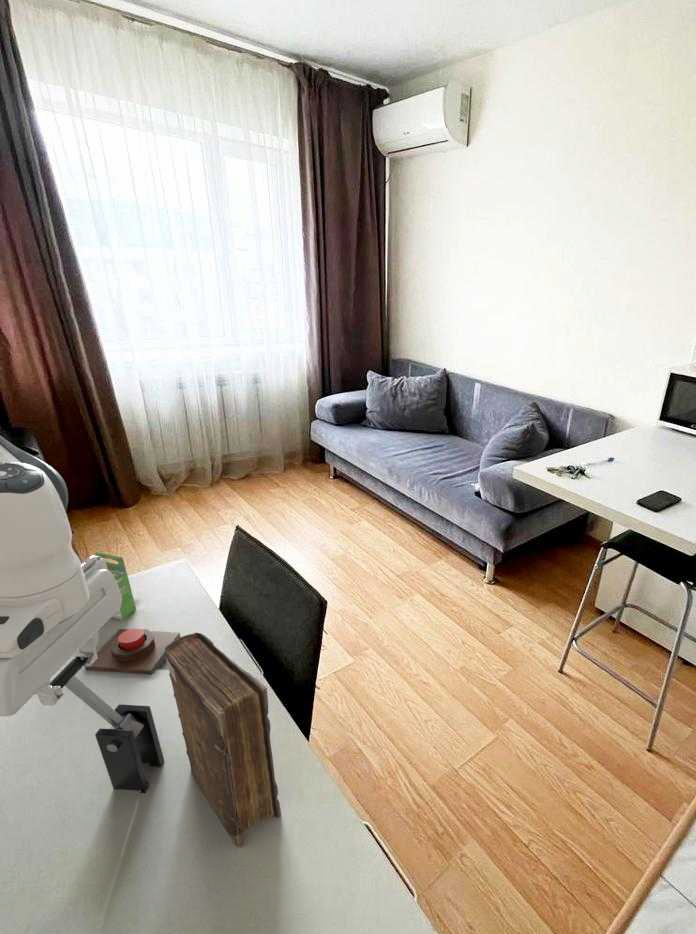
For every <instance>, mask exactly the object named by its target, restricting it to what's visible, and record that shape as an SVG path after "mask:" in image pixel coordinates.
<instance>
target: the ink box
mask: <svg viewBox="0 0 696 934" xmlns="http://www.w3.org/2000/svg"><path fill="white" fill-rule="evenodd" d="M94 554H95V555H94V556H100V557H102V558H104V559H110V560H113V561H115V562H117V563H114V562H110V561H106V565H107V569H108V570H109V571H110V572H111V573H112V575H113V576H114V578H115V580H116V583H117V585H118V587H119V590H120V593H121V596H122V603H121V607H120V609H119V610H118V611H117V612H116V613H115V614H114V615H113V616H112V617H111V618H112V619H115V620H119V621H124V620H126V619H127V618H128V617H129V616H130V615H131V614H133V613H134V612H135V611H136V610H137V606H136V603H135V599H134V595H133V591H132V587H131V584H130V583H131V582H130V579H129V575H128V572H127V569H126V564H125V561H124V557H123V556H118V555H113V554H108V553H103V552H98V551H97V552H96V551H94ZM111 618H110V619H111Z"/></svg>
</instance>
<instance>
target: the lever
mask: <svg viewBox="0 0 696 934" xmlns="http://www.w3.org/2000/svg"><path fill="white" fill-rule="evenodd" d="M83 667H85V666H84V662H83V661H82V660H81V659H78V658H76V657H75V658H73V659H72V660H71V661H70V662H69V663H68V664H67V665H65V667H64V668H63V669H62V670H61V671H60V672H59V673H58V674H57V675H56V676H55V677H54V678H53V679H52V680H50V682H51V683H50V686H52V687H53V686H61V689H62V690H63V688H64V687H66V688H67V689H68V690H69V691H70V692H72V693H73V694H74V695H75V696H77V698H79V699H80V700H81V701H82V702H83V703H84V704H86V706H88V707H89V708H90V709H92V710H93V711H94V712H95V713H96V714H98V715H99V716H100V717H101V718H102V719H103V720H105V721H106V722H107V723H108V724H109V725H111V727H110V728H109V729H117V730H132V731H133V734H134V737H135V738H136V737H137V735H138V734H139V732H140V731H141V730H142V728H143V727H144V725H143V724H142V723H140V722H139V721H138V720H137V719H136V718H135V717H134V716H132V715H131V714H130V713H129V714H127V715H125V716H123V717H122V716H120V715H119V714H118V713H117V712H116V711H115V709H113V708H112V707H111V706H110V705H109V704H108V703H107V702H105V701H104V700H103V699H102V698H101V697H100V696H99V695H98V694H96V693H95V692H94V691H93V690H92V689H91V688H89V687H88V686H87V685H86V684H85V683H84V682H82V681H81V680H80V679H79V678H77V676H76V675H77V673H79V671H80V670H81V669H82V668H83Z"/></svg>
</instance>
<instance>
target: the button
mask: <svg viewBox="0 0 696 934" xmlns="http://www.w3.org/2000/svg"><path fill="white" fill-rule="evenodd" d="M129 629H130V630H127V631H125V632H123V633H122V634H121V635H120V636H119V638H118V640H119V644H120V647H121V649H123V650H131V649H134V648H137V647H139V646H141V645H142V644H143V643H144V642H145V637H144V633H143V630H141V629H142V628H137V627H136V628H129Z"/></svg>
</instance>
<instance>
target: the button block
mask: <svg viewBox="0 0 696 934" xmlns="http://www.w3.org/2000/svg"><path fill="white" fill-rule="evenodd" d="M130 629H131V628H129V629H128V628H119V629H118V630H116V632H114V634H113V635H112V636H111V637H110V638H109V639H108V640H107V641H106V642H105V644H103V646H102V647H101V648H100V649H99V650H98V651H96V653H97V656H98V658H97V659H96V660H95V661H94V663H93V664H92V665H91V666H89V667H86V666H84V669H85V671H94V672H106V673H107V672H108V673H122V674H123V673H126V674H139V675H153V674H154V672H155V671H156V670H161V669H162V668H163V667H164V666H165V664H166V663H167V660H166V656H165V651H164V650H165V647H166V646H167V645H169V644H170V643H172V642H173V641H174V640H176V639H178V638H181V637H182V636H181V632H176V631H175V632H174V631H160V630H159V631H158V630H150V629H149V628H140V629H141V630H143V633H144V637H145V642H144V643H143V644H142V645H141V646H139V647H137V648H134V649H131V650H123V649H121V647H120V644H119V640H118V638H119V636H120V635H121V634H122V633H123V632H125V631H127V630H130Z"/></svg>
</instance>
